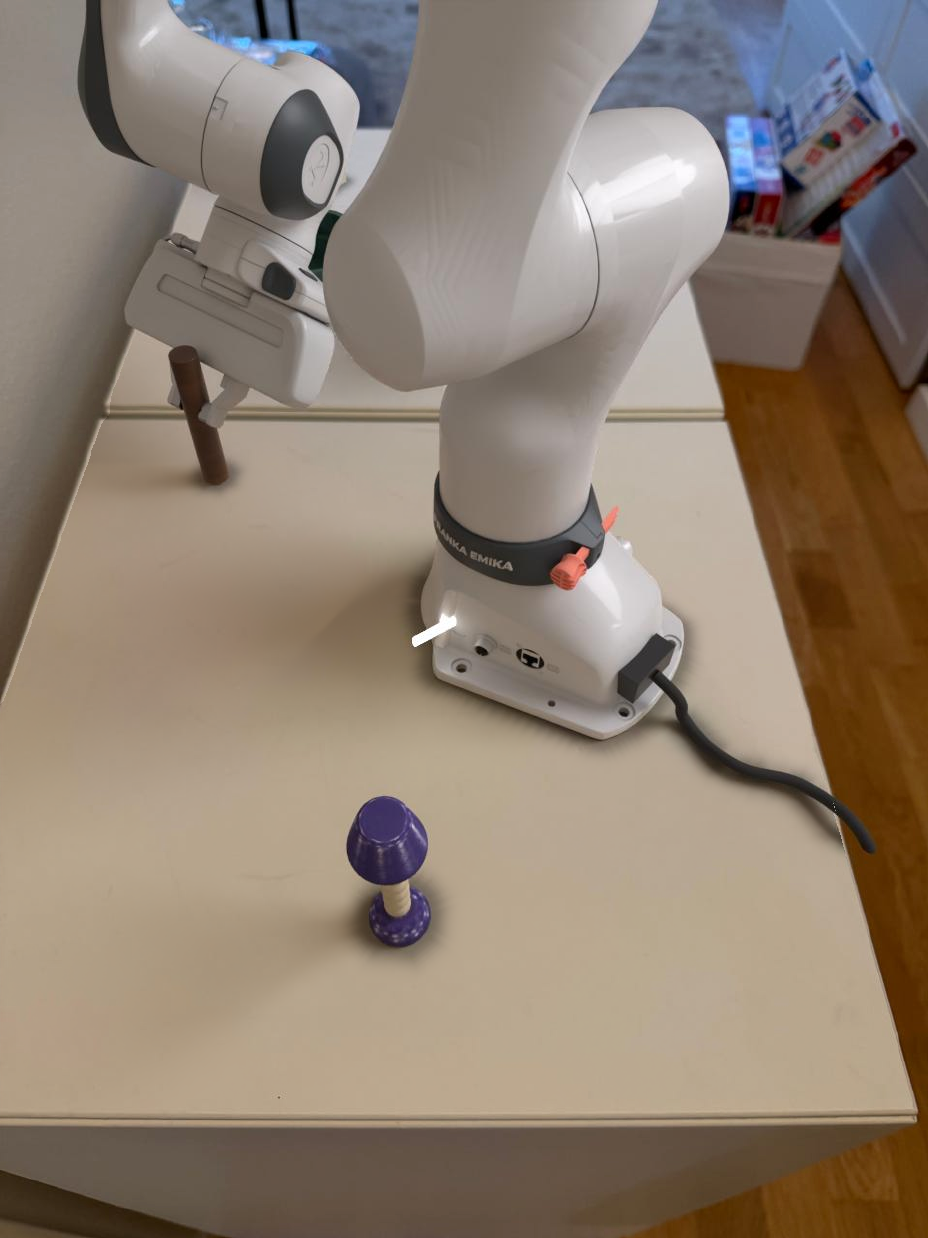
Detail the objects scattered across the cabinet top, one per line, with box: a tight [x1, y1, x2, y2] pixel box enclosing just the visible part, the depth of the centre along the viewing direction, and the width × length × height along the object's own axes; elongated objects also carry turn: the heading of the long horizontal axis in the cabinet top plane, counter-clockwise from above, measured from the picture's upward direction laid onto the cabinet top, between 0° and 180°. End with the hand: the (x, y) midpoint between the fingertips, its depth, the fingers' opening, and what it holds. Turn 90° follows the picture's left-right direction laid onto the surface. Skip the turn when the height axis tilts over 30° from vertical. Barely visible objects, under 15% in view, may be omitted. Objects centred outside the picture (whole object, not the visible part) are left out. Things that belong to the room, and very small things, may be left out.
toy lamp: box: [345, 795, 432, 948], centre depth 56 cm, size 5×5×17 cm
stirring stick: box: [167, 345, 230, 485], centre depth 82 cm, size 2×2×14 cm
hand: (193, 416), depth 81 cm, fingers closed on stirring stick, 2 cm apart
